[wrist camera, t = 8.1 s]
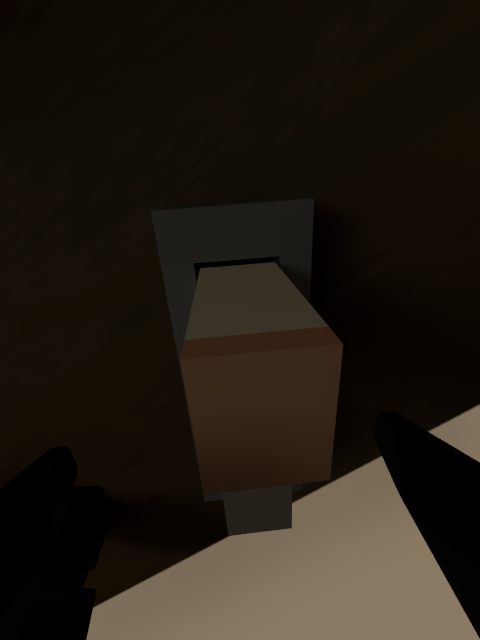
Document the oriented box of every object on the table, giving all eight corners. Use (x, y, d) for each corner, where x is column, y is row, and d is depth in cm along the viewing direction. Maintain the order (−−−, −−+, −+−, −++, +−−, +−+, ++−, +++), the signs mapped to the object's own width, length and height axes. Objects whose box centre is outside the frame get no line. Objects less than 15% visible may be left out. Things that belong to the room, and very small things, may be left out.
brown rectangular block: (210, 349, 17) (204, 494, 9) (200, 268, 15) (179, 359, 7) (276, 343, 17) (330, 480, 9) (274, 261, 15) (343, 343, 7)
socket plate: (206, 458, 26) (205, 501, 23) (164, 207, 17) (150, 210, 14) (290, 449, 27) (302, 489, 23) (293, 197, 17) (314, 198, 14)
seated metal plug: (225, 435, 25) (228, 535, 18) (219, 390, 23) (221, 482, 16) (269, 430, 25) (291, 528, 18) (268, 385, 23) (292, 474, 16)
